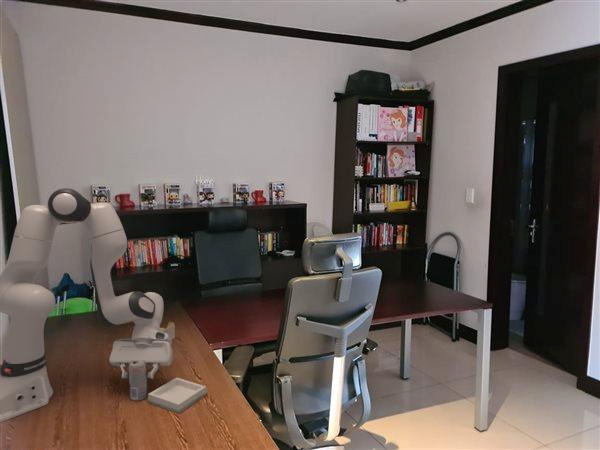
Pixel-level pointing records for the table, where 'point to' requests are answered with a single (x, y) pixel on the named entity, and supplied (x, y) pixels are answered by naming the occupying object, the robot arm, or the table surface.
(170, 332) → the model
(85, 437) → the table surface
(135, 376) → the energy drink
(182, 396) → the tray
